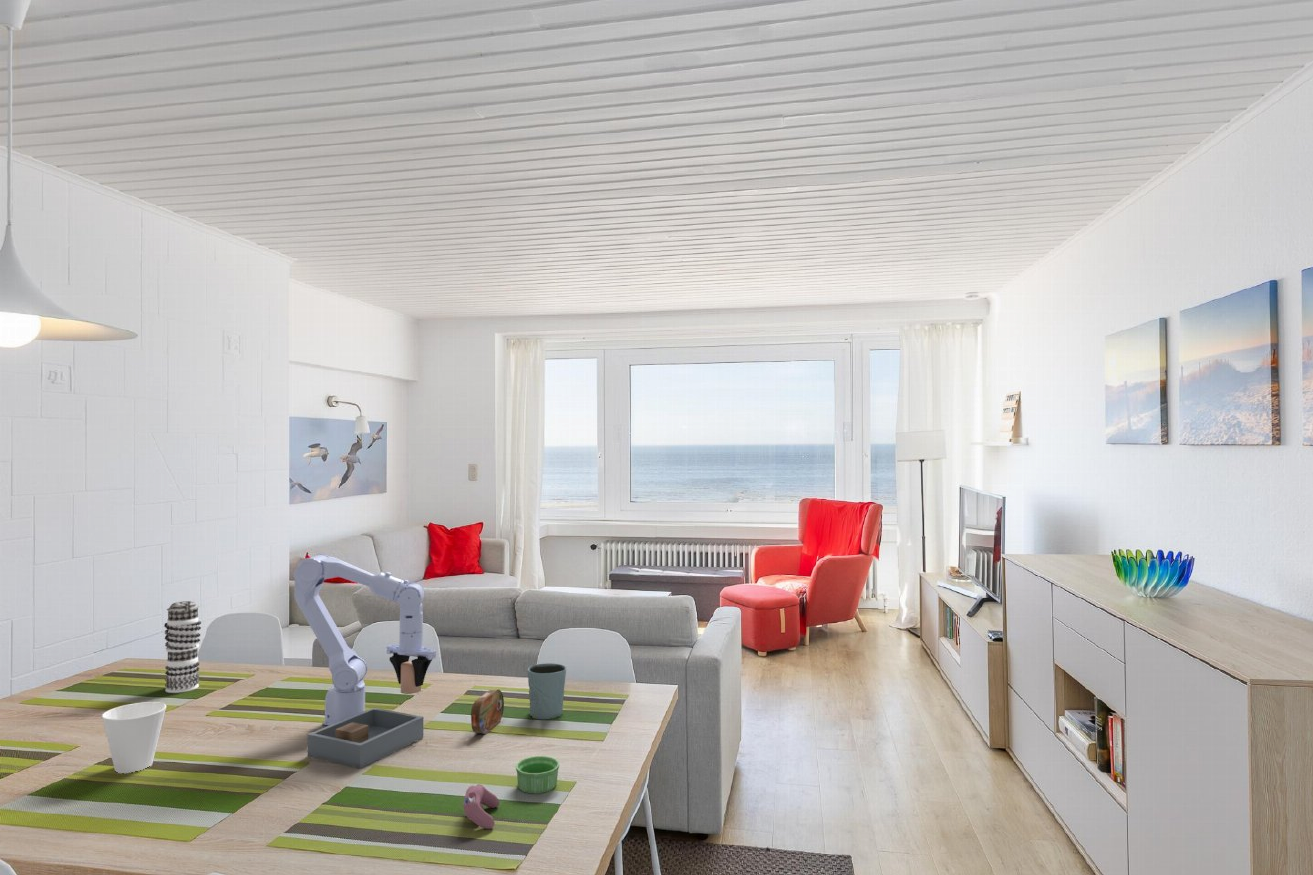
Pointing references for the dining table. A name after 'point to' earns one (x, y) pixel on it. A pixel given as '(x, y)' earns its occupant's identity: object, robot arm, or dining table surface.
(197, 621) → the decorative candle
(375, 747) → the tote
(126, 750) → the cup
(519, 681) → the dining table surface
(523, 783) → the ramekin
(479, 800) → the video game controller
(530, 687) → the grey plant pot
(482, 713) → the tin
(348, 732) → the cube
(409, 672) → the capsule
